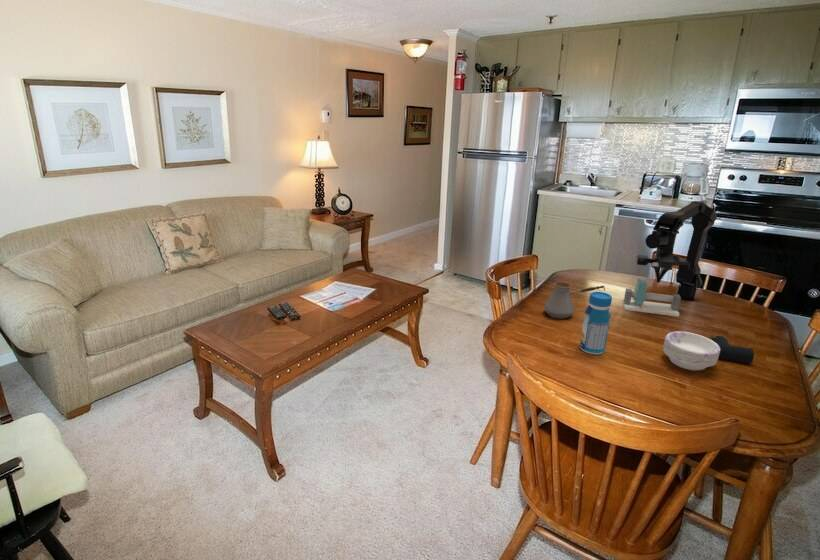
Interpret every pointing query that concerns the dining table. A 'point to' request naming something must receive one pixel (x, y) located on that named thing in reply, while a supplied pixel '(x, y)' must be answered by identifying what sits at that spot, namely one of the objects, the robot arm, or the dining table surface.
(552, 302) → the coffee pot
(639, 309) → the pipe rig
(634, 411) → the dining table surface
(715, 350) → the paper bowls
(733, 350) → the pipe connector
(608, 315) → the beverage bottle
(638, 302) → the sleeve collar
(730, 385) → the dining table surface
